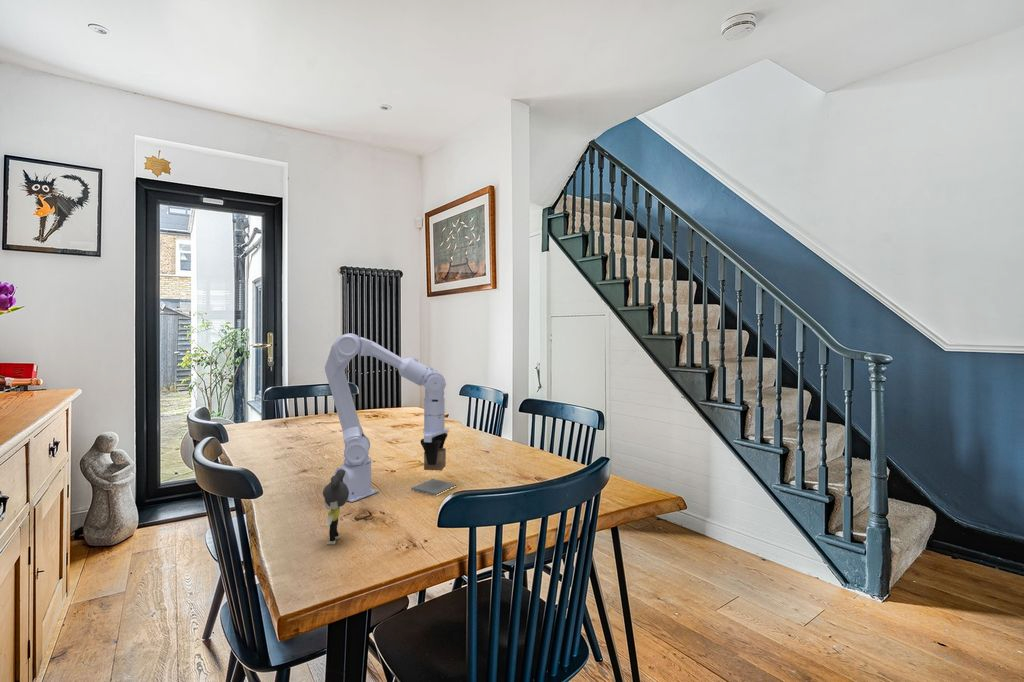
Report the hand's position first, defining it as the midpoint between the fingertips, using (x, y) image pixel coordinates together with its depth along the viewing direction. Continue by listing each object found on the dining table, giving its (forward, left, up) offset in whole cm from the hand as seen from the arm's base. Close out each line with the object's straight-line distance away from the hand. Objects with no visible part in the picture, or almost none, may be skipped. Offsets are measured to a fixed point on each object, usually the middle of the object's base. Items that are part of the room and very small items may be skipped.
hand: (434, 461), depth 142 cm
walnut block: (0, 0, -2) cm, 2 cm away
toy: (-38, -4, -8) cm, 39 cm away
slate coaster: (0, 0, -8) cm, 8 cm away
